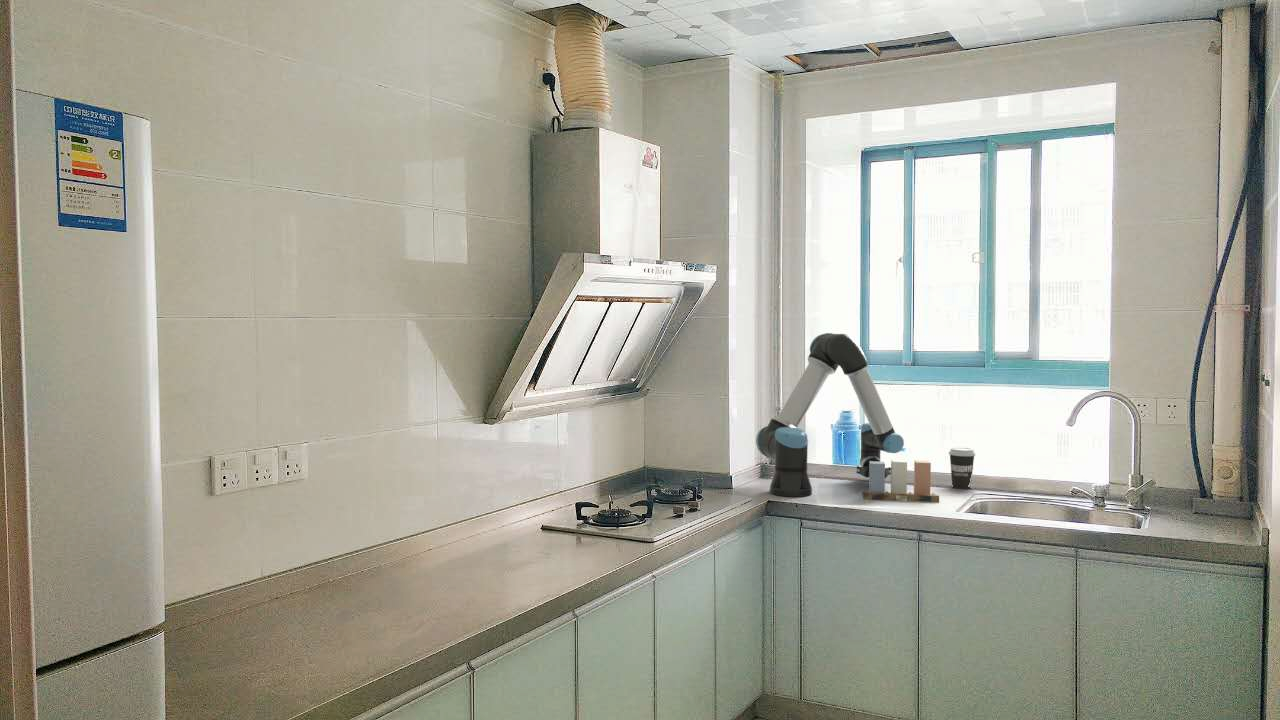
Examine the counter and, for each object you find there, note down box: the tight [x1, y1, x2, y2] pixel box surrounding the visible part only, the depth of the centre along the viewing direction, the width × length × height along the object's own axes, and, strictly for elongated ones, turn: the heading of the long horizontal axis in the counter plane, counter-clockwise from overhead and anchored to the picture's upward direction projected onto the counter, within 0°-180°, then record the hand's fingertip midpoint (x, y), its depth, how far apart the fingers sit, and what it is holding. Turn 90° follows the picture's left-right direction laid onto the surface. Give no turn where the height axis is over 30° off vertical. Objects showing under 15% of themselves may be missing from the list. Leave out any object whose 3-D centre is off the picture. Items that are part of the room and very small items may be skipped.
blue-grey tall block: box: [868, 461, 886, 493], centre depth 318 cm, size 5×5×12 cm
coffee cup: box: [948, 446, 976, 489], centre depth 340 cm, size 10×10×15 cm
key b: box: [890, 459, 908, 494], centre depth 322 cm, size 5×5×12 cm
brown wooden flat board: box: [861, 490, 940, 503], centre depth 320 cm, size 25×15×3 cm, turn 79°
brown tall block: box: [913, 459, 932, 495], centre depth 321 cm, size 5×5×12 cm
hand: (877, 477), depth 321 cm, fingers closed
